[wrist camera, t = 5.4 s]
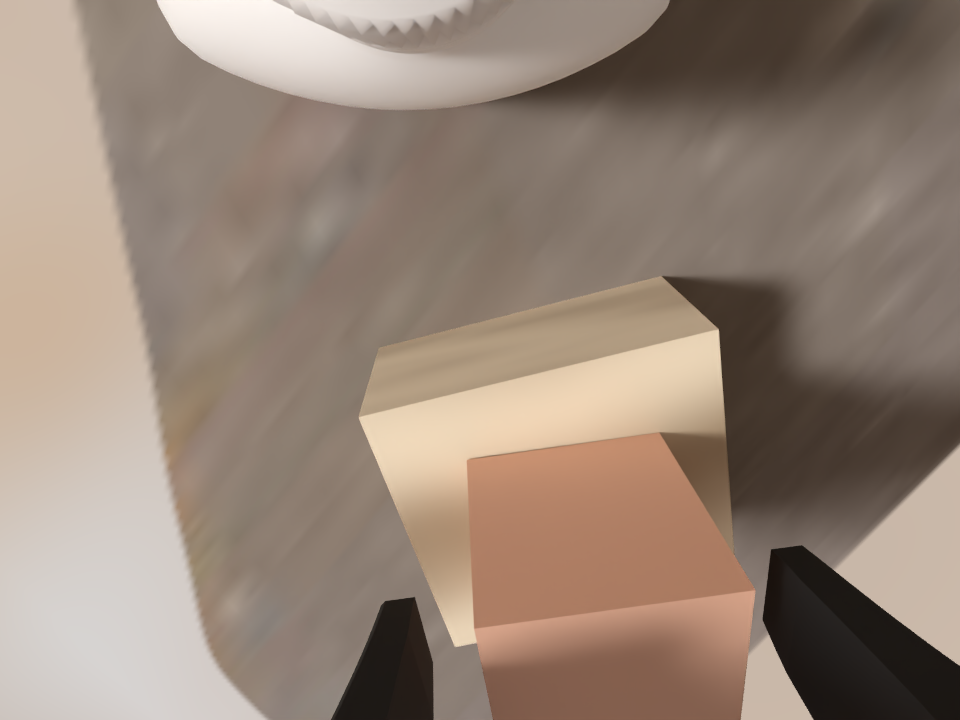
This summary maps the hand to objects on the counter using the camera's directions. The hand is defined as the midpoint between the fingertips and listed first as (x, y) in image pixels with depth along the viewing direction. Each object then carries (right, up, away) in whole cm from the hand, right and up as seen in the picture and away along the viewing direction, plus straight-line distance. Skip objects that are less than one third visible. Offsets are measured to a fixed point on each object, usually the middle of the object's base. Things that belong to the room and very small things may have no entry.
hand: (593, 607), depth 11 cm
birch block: (0, +3, +6) cm, 7 cm away
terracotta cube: (0, +1, +3) cm, 3 cm away
